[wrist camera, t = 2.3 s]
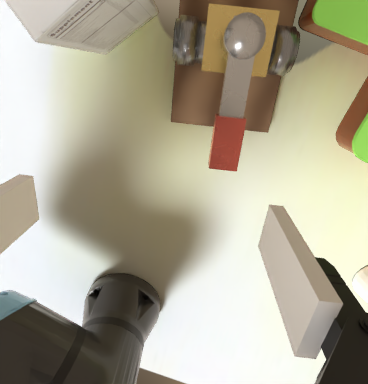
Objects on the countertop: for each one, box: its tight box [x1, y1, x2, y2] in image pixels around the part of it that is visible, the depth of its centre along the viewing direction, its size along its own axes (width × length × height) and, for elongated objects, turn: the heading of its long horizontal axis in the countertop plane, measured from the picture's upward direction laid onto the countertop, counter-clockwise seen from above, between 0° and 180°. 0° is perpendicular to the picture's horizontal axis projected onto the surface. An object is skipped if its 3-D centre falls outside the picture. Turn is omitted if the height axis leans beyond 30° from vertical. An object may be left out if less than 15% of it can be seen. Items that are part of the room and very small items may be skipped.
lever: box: [208, 12, 266, 171], centre depth 26 cm, size 14×4×2 cm, turn 175°
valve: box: [173, 3, 300, 77], centre depth 29 cm, size 14×6×10 cm, turn 84°
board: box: [171, 0, 299, 132], centre depth 34 cm, size 14×20×2 cm
